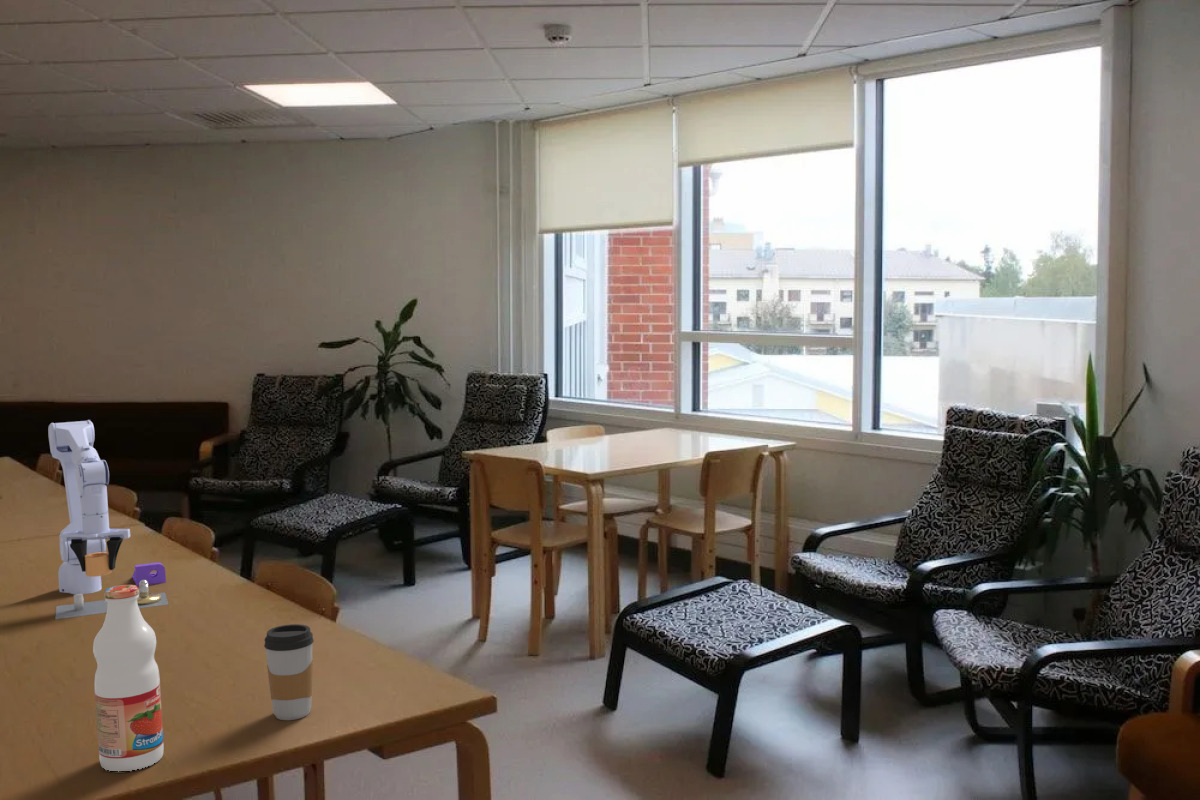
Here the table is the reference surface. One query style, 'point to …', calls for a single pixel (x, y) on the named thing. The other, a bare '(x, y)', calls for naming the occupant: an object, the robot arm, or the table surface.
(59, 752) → the table surface
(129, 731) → the fruit juice
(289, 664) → the coffee cup
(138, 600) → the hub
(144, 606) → the board
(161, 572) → the bracket
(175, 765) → the table surface
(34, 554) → the table surface
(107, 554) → the sleeve
